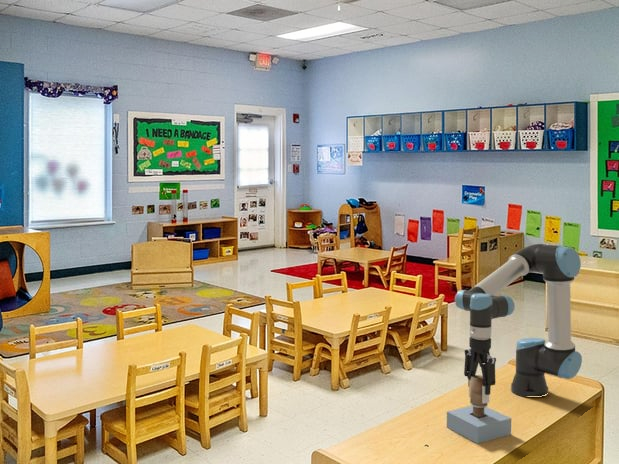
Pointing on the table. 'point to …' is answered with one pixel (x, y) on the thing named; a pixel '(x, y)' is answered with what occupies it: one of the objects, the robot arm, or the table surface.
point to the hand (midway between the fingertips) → (478, 399)
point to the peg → (477, 396)
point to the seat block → (479, 424)
